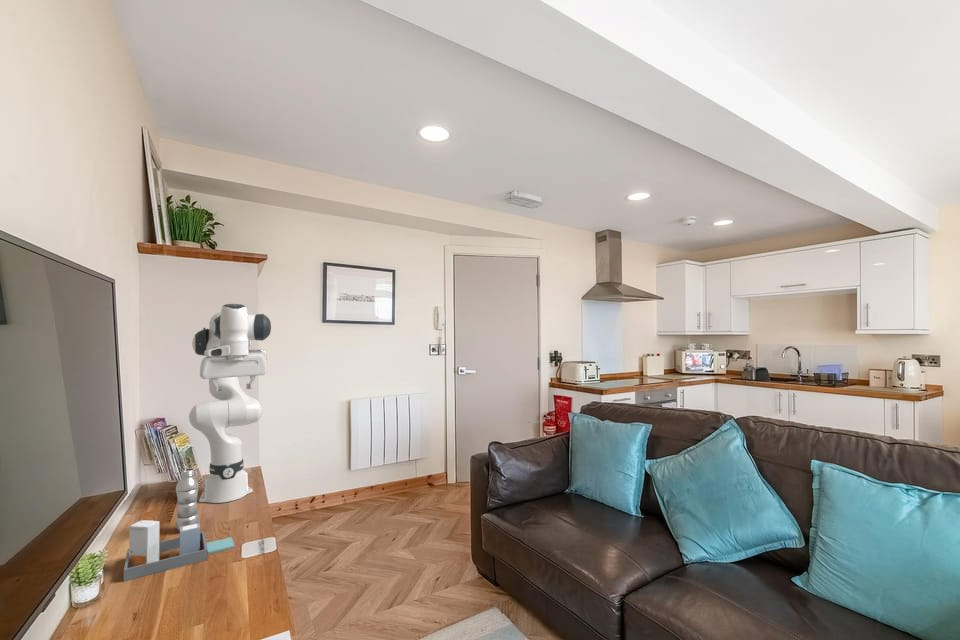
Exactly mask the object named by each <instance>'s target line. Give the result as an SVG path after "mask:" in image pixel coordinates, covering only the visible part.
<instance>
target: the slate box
mask: <svg viewBox="0 0 960 640" xmlns="http://www.w3.org/2000/svg"><path fill="white" fill-rule="evenodd" d="M200 532H201V526H200V522H199V523H196V524H192V525H187V526H182V527H180V531H179V537H180V548H179V555H183V554H187V553H192V552H196V551H200V550H201V543H200Z"/></svg>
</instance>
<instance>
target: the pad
mask: <svg viewBox="0 0 960 640" xmlns="http://www.w3.org/2000/svg"><path fill="white" fill-rule="evenodd" d="M206 545H207V555H211V554H215V553H219V552H223V551H227V550H230V549H234V548H235V543H234V540H233V537H232V536H229V537H226V538H222V539H217V540H214V541H210V542H209V541H208V542H206Z"/></svg>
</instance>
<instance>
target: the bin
mask: <svg viewBox="0 0 960 640" xmlns="http://www.w3.org/2000/svg"><path fill="white" fill-rule="evenodd" d="M206 543H207V539H206V534H205V531H200V544H201V545H202V549H200V551H196V552H192V553H187V554H183V555H180V554H179V555H176V556H173V557H167V558H163V559H159V561H155V562H151V563H147V564H143V565H139V566H135V567H131V568H129V548H127V552H126V556H125V562H124V568H123V582H126V581H130V580H134V579H138V578H142V577H146V576H151V575H154V574H158V573H162V572H165V571H171V570H173V569H177V568H180V567H184V566H189V565H192V564H196V563H200V562H203V561H208V551H207V545H206ZM175 549H180V536H179V537H174V538H171V539H165V540H161V541H160V540H159V553H162V552H168V551H171V550H175Z"/></svg>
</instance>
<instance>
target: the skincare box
mask: <svg viewBox="0 0 960 640" xmlns="http://www.w3.org/2000/svg"><path fill="white" fill-rule="evenodd" d="M160 523H161V522H160V521H158V520H152V519H151V520H149V519H147V520H145V519H144V520H143V519H141V520H139V521H137V522H135V523H133V524H131V525H130V526H129V535H128V536H129V541H128V542H129V545H128V546H129V548H128V549H129V568H131V567H135V566H139V565H143V564H147V563H151V562H155V561H159V560H160V552H159V542H160Z"/></svg>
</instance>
